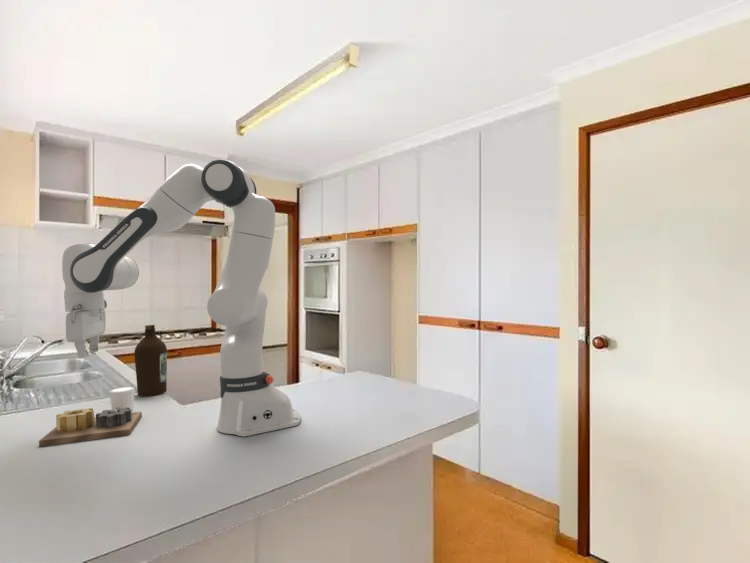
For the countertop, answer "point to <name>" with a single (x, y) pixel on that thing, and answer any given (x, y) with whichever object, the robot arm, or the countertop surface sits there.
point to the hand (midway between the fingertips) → (88, 354)
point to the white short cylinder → (122, 397)
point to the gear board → (97, 428)
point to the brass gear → (75, 420)
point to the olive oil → (151, 364)
